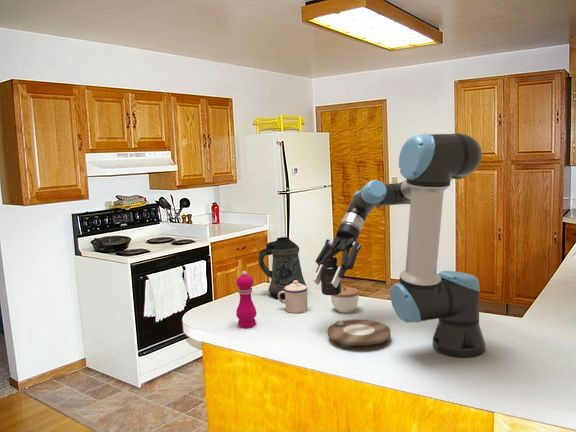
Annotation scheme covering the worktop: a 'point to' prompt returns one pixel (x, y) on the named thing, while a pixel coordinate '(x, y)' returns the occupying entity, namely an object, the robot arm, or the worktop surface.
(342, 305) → the lidded jar
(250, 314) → the pepper mill
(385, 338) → the stand
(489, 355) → the worktop surface
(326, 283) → the supplement bottle
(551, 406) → the worktop surface
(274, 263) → the beer stein
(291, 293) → the teacup with lid
